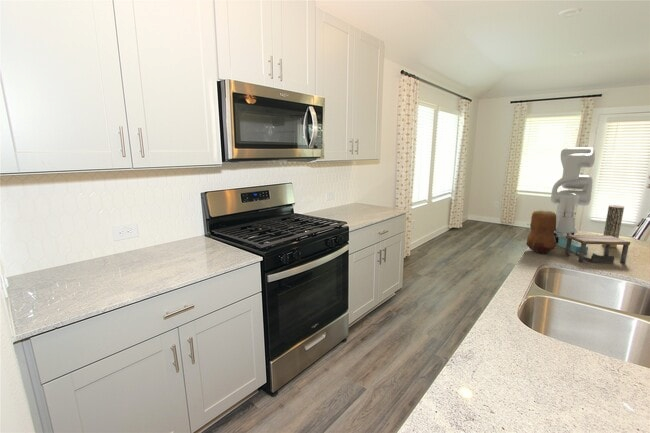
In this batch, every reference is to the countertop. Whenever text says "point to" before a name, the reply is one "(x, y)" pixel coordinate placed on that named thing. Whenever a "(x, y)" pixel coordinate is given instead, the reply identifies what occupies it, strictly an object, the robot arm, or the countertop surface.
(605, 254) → the small wooden table
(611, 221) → the brown bark cylinder
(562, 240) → the teal u-channel piece
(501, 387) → the countertop surface
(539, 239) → the butternut squash
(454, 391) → the countertop surface
